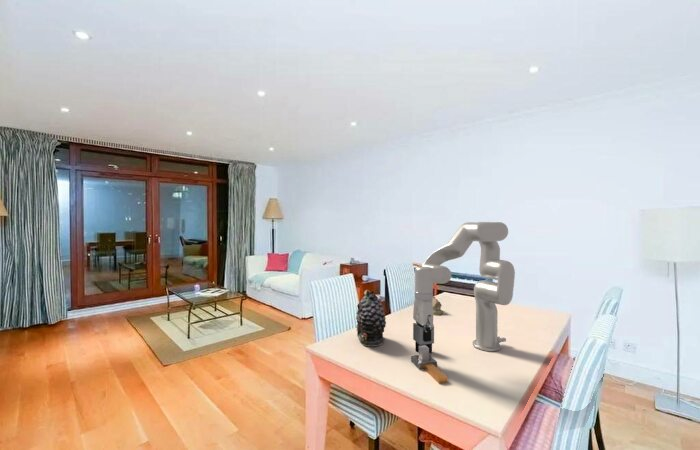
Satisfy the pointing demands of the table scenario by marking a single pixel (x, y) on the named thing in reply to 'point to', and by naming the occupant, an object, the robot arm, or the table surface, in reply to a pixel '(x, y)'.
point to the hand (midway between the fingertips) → (423, 337)
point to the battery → (421, 345)
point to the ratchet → (428, 364)
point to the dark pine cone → (370, 320)
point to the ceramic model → (436, 307)
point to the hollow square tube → (421, 334)
